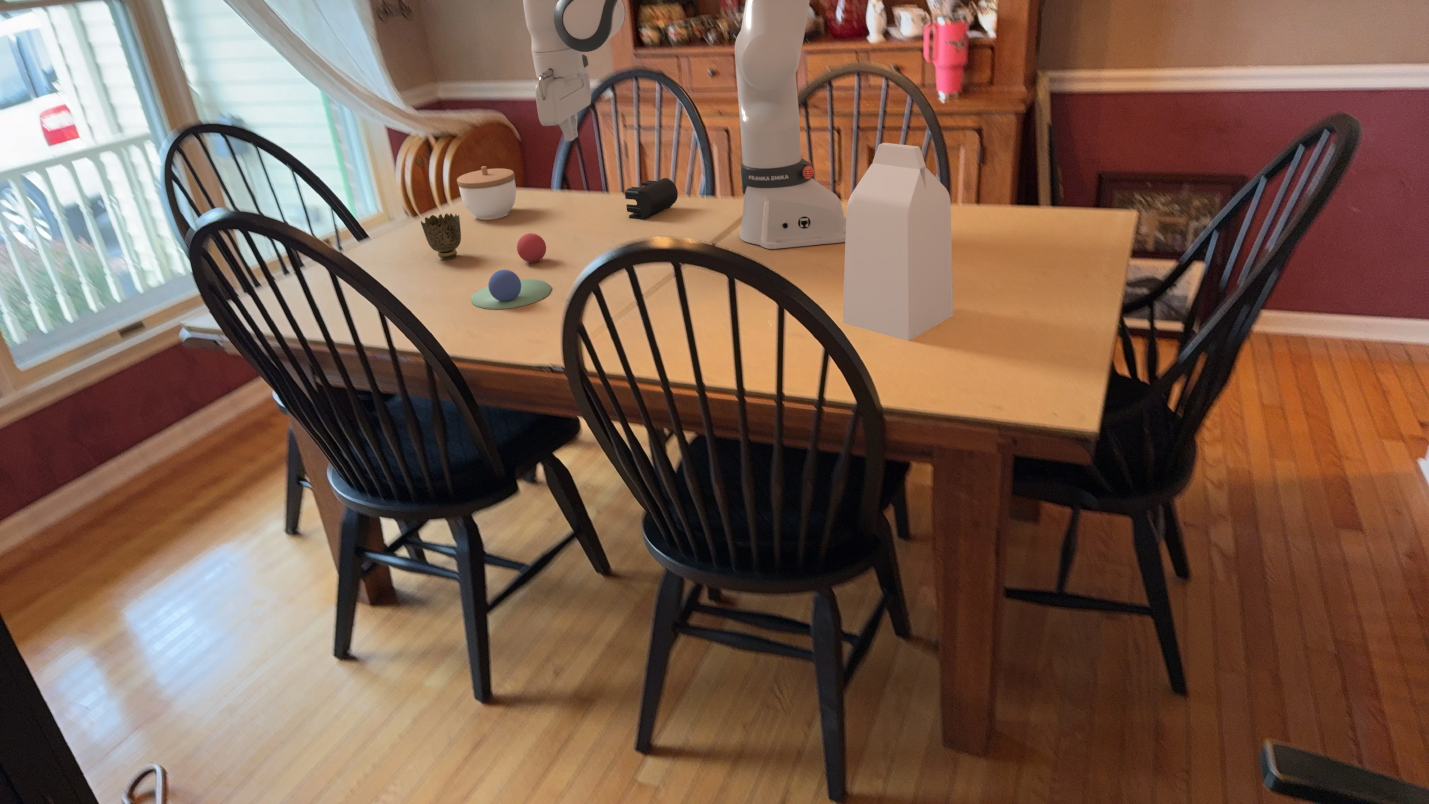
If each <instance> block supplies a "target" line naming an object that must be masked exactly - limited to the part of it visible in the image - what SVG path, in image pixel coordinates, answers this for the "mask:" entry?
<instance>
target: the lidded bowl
mask: <svg viewBox="0 0 1429 804" xmlns="http://www.w3.org/2000/svg"><path fill="white" fill-rule="evenodd" d="M480 168H481V169H479V170H475V171H471V172H467V173H464V174H462V175H460V176H458V177H457V179H456V183H457V186H458V189H459V194H460V198H461V199H462V202H463V204H464V206H465V208H466V209H467V210H468V212H470V213H471V214H472V215H474V216H475V217H476V218H477V220H482V221H491V220H498V219H501V218H504V217H507V216H508V215H509V214H510V212H511V209H513V206H514V205H515V202H516V198H517V188H516V187H517V185H516V181H515V172H514V171H513V170H512V169H509V168H499V167H498V168H497V167H495V168H488V167H487V165H485V166H484V165H483V166H481V167H480Z"/></svg>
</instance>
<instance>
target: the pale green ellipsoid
mask: <svg viewBox="0 0 1429 804" xmlns="http://www.w3.org/2000/svg"><path fill="white" fill-rule="evenodd" d="M519 279H520V278H519ZM520 282H521V291H520V293H519V295H518V296H517V297H516V298H515V299H514V300H512V301H509V302H502V301H499V300H497V299H495V298H494V297H493V296H492V295H491V293H490V291H489V286H488V285H487V286H485V287H483V288H481V289H479V290H477V291H475V293H473V294H472V296H471V299H470V300H471V304H472V305H473V306H475V307H477V308H480V309H485V310H486V309H487V310H506V309H507V310H508V309H514V308H519V307H524V306H528V305H531V304H534V303H536V302H539V301H541V300H543V299H544V298H546V297H547V296H549V295H550V294H551V292H552V286H551V285H550V284H549V283H548V282H547V281H544V280H539V279H529V278H525V279H523V278H522V279H520Z"/></svg>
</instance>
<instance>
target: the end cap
mask: <svg viewBox="0 0 1429 804" xmlns="http://www.w3.org/2000/svg"><path fill="white" fill-rule="evenodd" d="M640 185H641V187H639V186H631V187H630V188H629V187H628V188H627V189H626V190H624V197H625V200H633V201H635V202H636V204H626V212H627V213H631V214H629V215H628V218H629V219H631V220H641V221H644V220H647V219H650V218H651V217H654V216H656V215H658V214H660V213H662V212H664V211H666V210H668V209H670V208H672V206H673V205H674V204H675V203H676V202H677V201H678V200H677V199H678V197H679V191H678V188H677V185H676V184H675V183H674V182H673V181H672V180H671V179H670V178H668V177H663V178H661V179H659V180H649V179H647V180H645V181H643V182H641V183H640Z"/></svg>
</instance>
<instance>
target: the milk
mask: <svg viewBox="0 0 1429 804" xmlns="http://www.w3.org/2000/svg"><path fill="white" fill-rule="evenodd" d="M873 157H874V158H873V160H872V163H871V164H870V165H869V167H868V168H867V170H866V172H865V173H864V175H863V176H862V178H861V179H860V181H859V182H858V184H857V185H856V186H855V187H854V190H853V191H852V193H851V194H850V196H849V199H848V200H847V204H846V210H845V211H846V216H845V217H846V238H845V242H844V248H845V249H844V266H843V268H844V271H843V272H844V273H843V295H842V323H843V324H846V325H851V326H853V327H856V328H860V329H863V330H867V331H871V332H875V333H878V334H882V335H885V336H889V337H891V338H892V337H893V338H896V339H900V340H903V341H907V342H909V341H911V340H913V339H915V338H917V337H918V336H920V335H923V333H925V332H926V331H928V330H931V329H932V328H934V327H935V326H937V325H939V324H941V323H942V322H944V321H946V320H948V319H950V318H951V317H953V316H954V297H953V295H954V293H953V291H954V289H953V286H954V285H953V284H954V283H953V252H952V251H953V248H952V247H953V246H952V241H953V240H952V213H951V211H952V209H951V207H952V205H951V195H950V193H949V191H948V190H947V187H945V186H944V184H942V182H941V181H940V180H939V179H938V178H937V177H936V176H935V175H934V173H932V172H931V170H929V169H928V168H927V167H926V163H925V159H924V157H923V153H922V150H921V148H920V146H917V145H915V146H914V145H909V144H902V143H901V144H900V143H892V142H891V143H890V142H883V143H880V144H878V146H877V149H876V151H875V154H874V156H873Z"/></svg>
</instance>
